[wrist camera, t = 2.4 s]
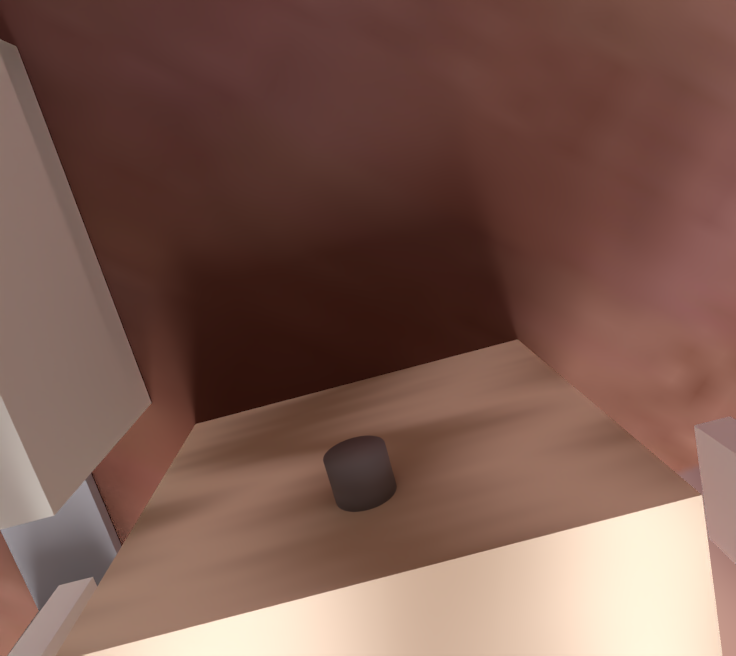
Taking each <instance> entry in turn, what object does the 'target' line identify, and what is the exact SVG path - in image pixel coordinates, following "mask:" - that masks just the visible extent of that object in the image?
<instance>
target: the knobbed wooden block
mask: <svg viewBox="0 0 736 656" xmlns="http://www.w3.org/2000/svg"><path fill="white" fill-rule="evenodd" d="M56 656H722V649H721V642H720V633H719V625H718V618H717V610H716V602H715V594H714V586H713V578H712V571H711V563H710V554H709V547H708V539H707V531H706V523H705V515H704V507H703V499H702V495H701V494H700V493H699V492H698V491H696V489H694V488H693V487H692V486H691V485H690V484H688V483H687V482H686V481H684V479H682V478H681V477H680V476H679V475H678V474H677V473H675V472H674V471H673V470H672V469H671V468H669V467H668V466H667V465H666V464H665V463H664V462H662V461H661V460H660V459H659V458H658V457H656V456H655V455H654V454H653V453H652V452H651V451H649V450H648V449H647V448H646V447H645V446H643V445H642V444H641V443H640V442H639V441H638V440H636V439H635V438H634V437H633V436H632V435H630V434H629V433H628V432H627V431H626V430H624V429H623V428H622V427H621V426H620V425H619V424H617V423H616V422H615V421H614V420H613V419H611V418H610V417H609V416H608V415H607V414H606V413H604V412H603V411H602V410H601V409H600V408H598V407H597V406H596V405H595V404H594V403H593V402H591V401H590V400H589V399H588V398H587V397H585V396H584V395H583V394H582V393H581V392H580V391H578V390H577V389H576V388H575V387H574V386H572V385H571V384H570V383H569V382H568V381H566V380H565V379H564V378H563V377H562V376H561V375H559V374H558V373H557V372H556V371H555V370H553V369H552V368H551V367H550V366H549V365H548V364H546V363H545V362H544V361H543V360H542V359H540V358H539V357H538V356H537V355H536V354H535V353H533V352H532V351H531V350H530V349H529V348H527V347H526V346H525V345H524V344H523V343H522V342H520V341H519V340H518V339H517V340H513V341H510V342H506V343H502V344H498V345H494V346H491V347H487V348H483V349H479V350H475V351H472V352H468V353H464V354H460V355H456V356H453V357H449V358H445V359H441V360H437V361H434V362H430V363H426V364H422V365H418V366H415V367H411V368H407V369H403V370H399V371H396V372H392V373H388V374H384V375H380V376H377V377H373V378H369V379H365V380H361V381H357V382H354V383H350V384H346V385H342V386H338V387H335V388H331V389H327V390H323V391H319V392H316V393H312V394H308V395H304V396H300V397H297V398H293V399H289V400H285V401H281V402H278V403H274V404H270V405H266V406H262V407H259V408H255V409H251V410H247V411H243V412H240V413H236V414H232V415H228V416H224V417H221V418H217V419H213V420H209V421H205V422H202V423H198V424H195V426H194V427H193V429H192V431H191V432H190V434H189V436H188V437H187V439H186V441H185V442H184V444H183V446H182V447H181V449H180V451H179V452H178V454H177V455H176V457H175V459H174V460H173V462H172V464H171V465H170V467H169V469H168V470H167V472H166V474H165V475H164V477H163V479H162V480H161V482H160V484H159V485H158V487H157V489H156V490H155V492H154V494H153V495H152V497H151V499H150V500H149V502H148V504H147V505H146V507H145V509H144V510H143V512H142V513H141V515H140V517H139V518H138V520H137V522H136V523H135V525H134V527H133V528H132V530H131V532H130V533H129V535H128V537H127V538H126V540H125V542H124V543H123V545H122V547H121V548H120V550H119V552H118V553H117V555H116V557H115V558H114V560H113V562H112V563H111V565H110V566H109V568H108V570H107V571H106V573H105V575H104V576H103V578H102V580H101V581H100V583H99V585H98V586H97V588H96V590H95V591H94V593H93V595H92V596H91V598H90V600H89V601H88V603H87V605H86V606H85V608H84V610H83V611H82V613H81V615H80V616H79V618H78V620H77V621H76V623H75V624H74V626H73V628H72V629H71V631H70V633H69V634H68V636H67V638H66V639H65V641H64V643H63V644H62V646H61V648H60V649H59V651H58V653H57V654H56Z"/></svg>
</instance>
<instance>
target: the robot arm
mask: <svg viewBox="0 0 736 656" xmlns="http://www.w3.org/2000/svg"><path fill="white" fill-rule="evenodd" d="M694 428H695V436H696V444H697V451H698V459H699V467H700V474H701V481H702V490H703V498H704V505H705V513H706V521H707V529H708V536H709V539H710V540H711V541H712V542H713V543H714V544H715V545H716V546H718V548H719V549H720V550H721V551H723V552H724V553H725V554H726V555H727V556H728V557H729V558H730V559H731V560H732V561H733V562H734V563H735V564H736V419H734V418H732V417H731V416H730V417H726V418H722V419H718V420H714V421H710V422H706V423H702V424H698V425H694ZM96 588H97V585H96V583H95V580H94V578H93V577H90V578H86V579H82V580H78V581H74V582H70V583H66V584H62V585H59V586H58V587H57V589H56V590H55V591H54V593H53V594H52V596H51V597H50V598H49V600H48V601H47V602H46V604H45V605H44V607H43V608H42V609H41V611H40V612H39V613H38V615H37V616H36V618H35V619H34V620H33V622H32V623H31V624H30V626H29V627H28V629H27V630H26V631H25V633H24V634H23V635H22V637H21V638H20V640H19V641H18V642H17V644H16V645H15V646H14V648H13V649H12V651H11V652H10V653H9V655H8V656H56V654H57V653H58V651H59V649H60V648H61V646H62V644H63V643H64V641H65V639H66V638H67V636H68V634H69V633H70V631H71V629H72V628H73V626H74V624H75V623H76V621H77V620H78V618H79V616H80V615H81V613H82V611H83V610H84V608H85V606H86V605H87V603H88V601H89V600H90V598H91V596H92V595H93V593H94V591H95V590H96Z"/></svg>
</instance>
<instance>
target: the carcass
mask: <svg viewBox="0 0 736 656" xmlns="http://www.w3.org/2000/svg"><path fill="white" fill-rule="evenodd" d="M150 404H151V400H150V398H149V395H148V392H147V390H146V387H145V384H144V382H143V379H142V376H141V374H140V371H139V369H138V366H137V363H136V361H135V358H134V355H133V353H132V350H131V347H130V345H129V342H128V339H127V337H126V334H125V332H124V329H123V326H122V324H121V321H120V318H119V316H118V313H117V310H116V308H115V305H114V302H113V300H112V297H111V295H110V292H109V289H108V287H107V284H106V281H105V279H104V276H103V273H102V271H101V268H100V265H99V263H98V260H97V258H96V255H95V252H94V250H93V247H92V244H91V242H90V239H89V236H88V234H87V231H86V228H85V226H84V223H83V221H82V218H81V215H80V213H79V210H78V207H77V205H76V202H75V199H74V197H73V194H72V191H71V189H70V186H69V183H68V181H67V178H66V176H65V173H64V170H63V168H62V165H61V162H60V160H59V157H58V154H57V152H56V149H55V146H54V144H53V141H52V139H51V136H50V133H49V131H48V128H47V125H46V123H45V120H44V117H43V115H42V112H41V109H40V107H39V104H38V102H37V99H36V96H35V94H34V91H33V88H32V86H31V83H30V80H29V78H28V75H27V72H26V70H25V67H24V65H23V62H22V59H21V57H20V54H19V51H18V49H17V46H15V45H12V44H10V43H8V42H5V41H3V40H1V39H0V530H1V532H2V534H3V536H4V539H5V541H6V543H7V545H8V547H9V549H10V551H11V553H12V555H13V557H14V560H15V562H16V564H17V566H18V568H19V570H20V572H21V574H22V576H23V578H24V580H25V583H26V585H27V587H28V589H29V591H30V593H31V595H32V597H33V599H34V601H35V604H36V606H37V608H38V610H39V612H40V611H41V609H42V608H43V607H44V605H45V604H46V602H47V601H48V600H49V598H50V597H51V596H52V594H53V593H54V591H55V590H56V589H57V587H58V586H59V585H62V584H66V583H70V582H74V581H78V580H82V579H86V578H90V577H93V578H94V580H95V583H96V585H97V586H98V585H99V583H100V581H101V580H102V578H103V576H104V575H105V573H106V571H107V570H108V568H109V566H110V565H111V563H112V562H113V560H114V558H115V557H116V555H117V553H118V552H119V550H120V548H121V547H122V546H121V543H120V541H119V539H118V536H117V534H116V532H115V529H114V527H113V524H112V522H111V520H110V517H109V515H108V512H107V510H106V508H105V505H104V503H103V501H102V498H101V496H100V493H99V491H98V489H97V486H96V484H95V482H94V479H93V477H92V474H91V473H92V471H93V470H94V469H95V468H96V467H97V466H98V464H99V463H100V462H101V461H102V460H103V459H104V457H105V456H106V455H107V454H108V453H109V452H110V451H111V449H112V448H113V447H114V446H115V445H116V444H117V442H118V441H119V440H120V439H121V438H122V437H123V436H124V434H125V433H126V432H127V431H128V430H129V429H130V427H131V426H132V425H133V424H134V423H135V422H136V420H137V419H138V418H139V417H140V416H141V415H142V414H143V412H144V411H145V410H146V409H147V408H148V407H149V405H150ZM39 612H38V613H39ZM38 613H37V614H36V616H37V615H38ZM36 616H35V617H34V619H35V618H36ZM34 619H33V620H34ZM33 620H32V621H31V623H32V622H33ZM31 623H30V624H31ZM30 624H29V626H30ZM29 626H28V627H29ZM28 627H27V629H28ZM27 629H26V630H27ZM26 630H25V631H26ZM25 631H24V633H25ZM24 633H23V634H24ZM23 634H22V635H23ZM21 637H22V636H21ZM21 637H20V638H21ZM20 638H19V640H20ZM19 640H18V641H19ZM18 641H17V642H18ZM16 644H17V643H16ZM16 644H15V645H16ZM15 645H14V646H15ZM13 648H14V647H13ZM13 648H12V649H13ZM11 651H12V650H11ZM11 651H10V652H11ZM8 655H9V654H8ZM8 655H7V656H8Z"/></svg>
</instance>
